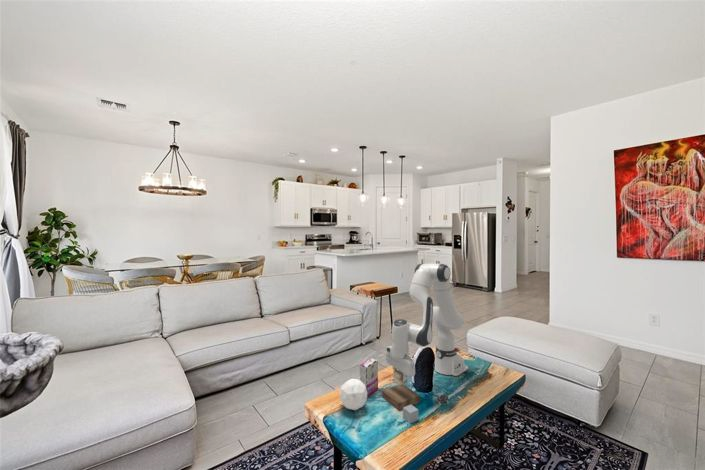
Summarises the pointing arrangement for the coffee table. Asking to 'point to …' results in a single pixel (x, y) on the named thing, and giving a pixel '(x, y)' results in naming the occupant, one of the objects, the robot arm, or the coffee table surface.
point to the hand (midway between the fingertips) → (400, 377)
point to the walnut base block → (400, 396)
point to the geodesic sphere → (353, 394)
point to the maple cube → (398, 377)
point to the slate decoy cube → (410, 413)
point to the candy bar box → (369, 375)
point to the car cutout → (443, 399)
